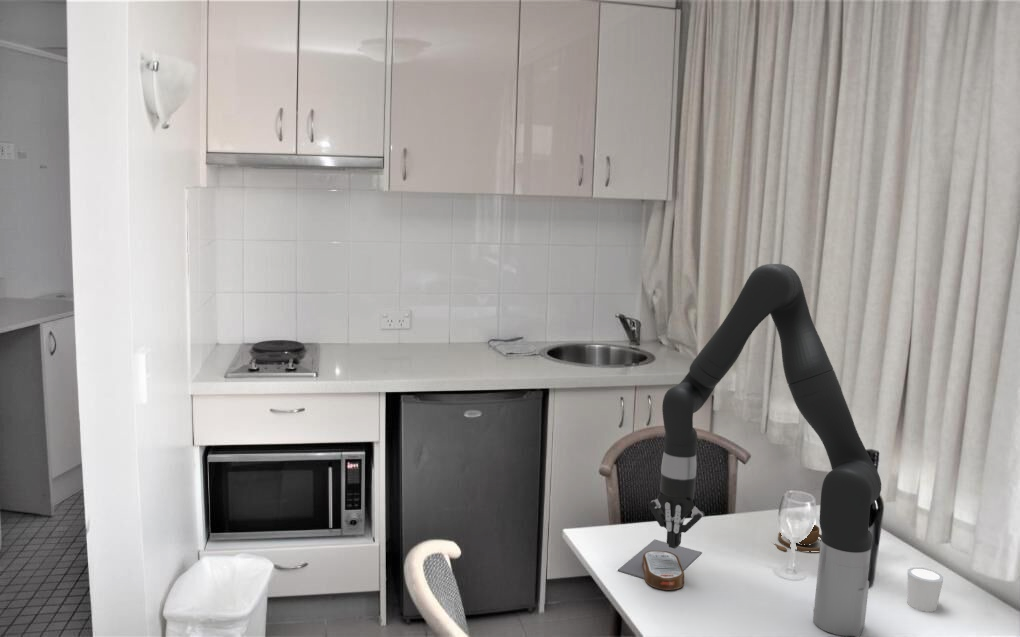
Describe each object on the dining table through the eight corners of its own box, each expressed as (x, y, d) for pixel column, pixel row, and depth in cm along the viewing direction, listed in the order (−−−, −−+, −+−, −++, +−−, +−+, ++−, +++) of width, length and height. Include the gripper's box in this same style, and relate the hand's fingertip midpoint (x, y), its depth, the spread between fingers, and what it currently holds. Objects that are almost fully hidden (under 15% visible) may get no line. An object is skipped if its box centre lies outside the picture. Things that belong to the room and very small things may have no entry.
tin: (675, 560, 192) (639, 561, 193) (675, 547, 192) (639, 548, 192) (687, 591, 177) (647, 591, 178) (687, 577, 177) (647, 577, 177)
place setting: (818, 532, 214) (820, 510, 214) (872, 565, 196) (875, 542, 195) (759, 538, 209) (761, 516, 208) (809, 573, 190) (811, 548, 190)
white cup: (946, 608, 175) (950, 577, 174) (926, 615, 171) (930, 583, 170) (917, 594, 181) (920, 564, 180) (896, 601, 177) (900, 570, 176)
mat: (701, 553, 198) (701, 552, 198) (667, 586, 180) (667, 584, 180) (654, 540, 204) (654, 539, 204) (617, 570, 186) (617, 569, 186)
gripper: (713, 474, 183) (707, 548, 186) (657, 462, 190) (652, 534, 193) (701, 483, 177) (695, 560, 179) (643, 470, 184) (639, 544, 186)
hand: (673, 546), depth 186 cm, fingers closed
